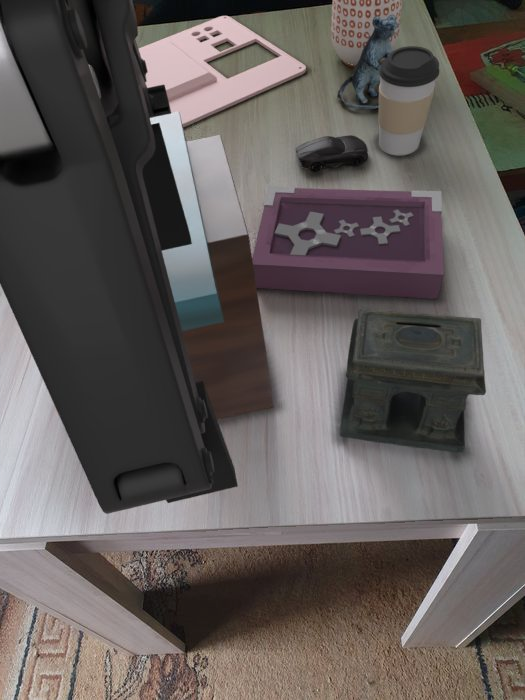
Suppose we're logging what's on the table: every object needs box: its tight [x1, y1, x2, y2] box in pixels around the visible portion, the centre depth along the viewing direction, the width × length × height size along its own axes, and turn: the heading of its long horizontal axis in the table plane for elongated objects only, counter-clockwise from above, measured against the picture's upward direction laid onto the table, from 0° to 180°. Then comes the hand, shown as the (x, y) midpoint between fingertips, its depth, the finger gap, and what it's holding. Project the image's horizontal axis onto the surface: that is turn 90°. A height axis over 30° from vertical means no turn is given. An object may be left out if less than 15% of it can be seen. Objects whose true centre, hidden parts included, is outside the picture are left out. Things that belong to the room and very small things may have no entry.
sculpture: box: [336, 15, 399, 110], centre depth 93 cm, size 8×11×15 cm
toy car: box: [295, 134, 369, 173], centre depth 88 cm, size 6×12×4 cm, turn 98°
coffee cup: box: [378, 45, 440, 156], centre depth 85 cm, size 9×9×15 cm
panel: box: [138, 15, 307, 128], centre depth 110 cm, size 35×33×2 cm
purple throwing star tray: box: [252, 185, 445, 300], centre depth 75 cm, size 25×16×5 cm, turn 81°
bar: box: [150, 111, 224, 331], centre depth 41 cm, size 22×4×3 cm, turn 12°
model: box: [339, 308, 487, 454], centre depth 56 cm, size 14×9×15 cm, turn 81°
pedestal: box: [182, 134, 275, 421], centre depth 56 cm, size 14×10×28 cm
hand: (181, 346), depth 24 cm, fingers open, 13 cm apart
